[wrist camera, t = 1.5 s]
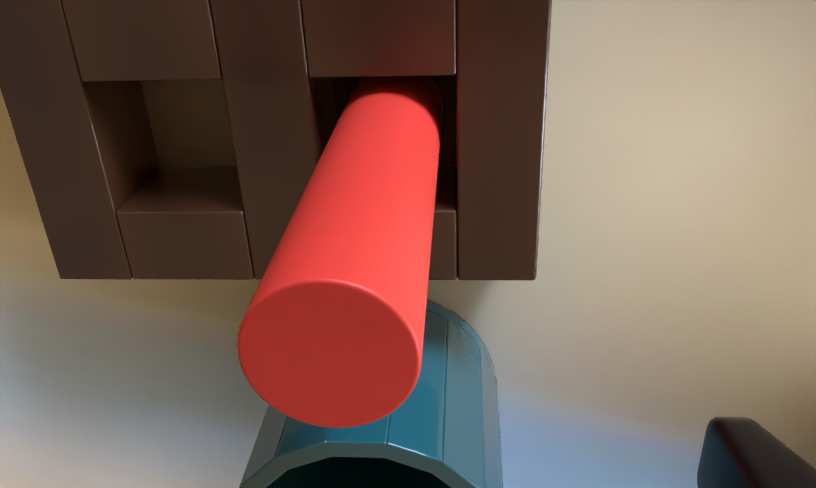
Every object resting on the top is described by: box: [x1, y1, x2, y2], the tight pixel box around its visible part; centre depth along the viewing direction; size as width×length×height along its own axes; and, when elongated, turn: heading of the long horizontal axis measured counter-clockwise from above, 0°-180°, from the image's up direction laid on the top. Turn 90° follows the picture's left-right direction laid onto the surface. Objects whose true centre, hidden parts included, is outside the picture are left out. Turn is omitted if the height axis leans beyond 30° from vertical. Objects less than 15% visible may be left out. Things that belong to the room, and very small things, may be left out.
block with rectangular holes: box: [0, 0, 552, 280], centre depth 17 cm, size 13×13×3 cm
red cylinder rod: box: [237, 76, 443, 428], centre depth 14 cm, size 2×2×11 cm
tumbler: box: [239, 300, 503, 488], centre depth 21 cm, size 7×7×6 cm
